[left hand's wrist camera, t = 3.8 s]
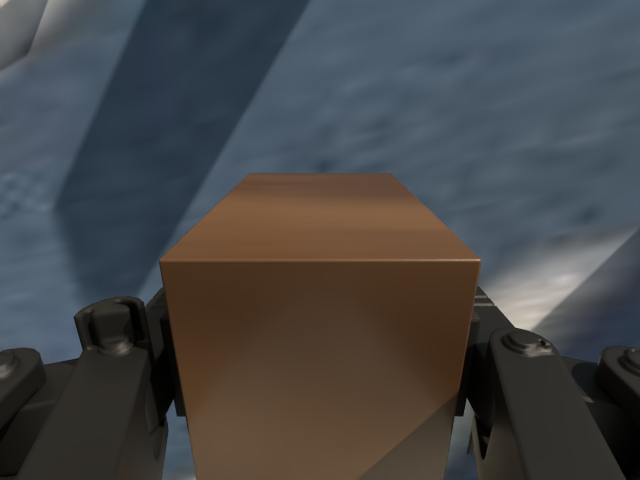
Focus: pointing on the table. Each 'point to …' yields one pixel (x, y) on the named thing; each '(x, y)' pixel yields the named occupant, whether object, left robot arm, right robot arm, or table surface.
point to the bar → (320, 330)
